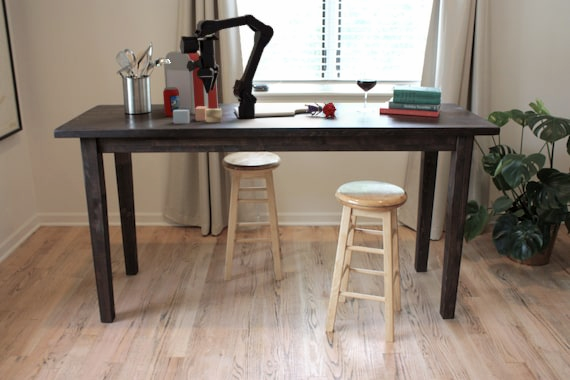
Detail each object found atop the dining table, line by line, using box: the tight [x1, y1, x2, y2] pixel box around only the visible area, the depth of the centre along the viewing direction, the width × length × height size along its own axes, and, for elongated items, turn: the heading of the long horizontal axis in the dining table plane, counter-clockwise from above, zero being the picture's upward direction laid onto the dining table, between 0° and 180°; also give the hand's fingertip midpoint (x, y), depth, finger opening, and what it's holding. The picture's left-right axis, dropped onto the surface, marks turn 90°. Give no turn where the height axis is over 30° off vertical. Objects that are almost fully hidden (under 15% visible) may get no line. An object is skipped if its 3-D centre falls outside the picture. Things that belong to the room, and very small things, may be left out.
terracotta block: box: [194, 106, 207, 122], centre depth 256 cm, size 6×4×5 cm, turn 179°
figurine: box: [304, 102, 337, 119], centre depth 257 cm, size 6×8×15 cm
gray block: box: [172, 110, 191, 124], centre depth 249 cm, size 6×4×5 cm, turn 89°
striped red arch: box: [163, 47, 219, 115], centre depth 277 cm, size 16×18×27 cm
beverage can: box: [162, 87, 180, 118], centre depth 264 cm, size 7×7×12 cm
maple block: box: [205, 108, 223, 123], centre depth 251 cm, size 6×4×5 cm, turn 89°
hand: (209, 91), depth 249 cm, fingers open, 9 cm apart
